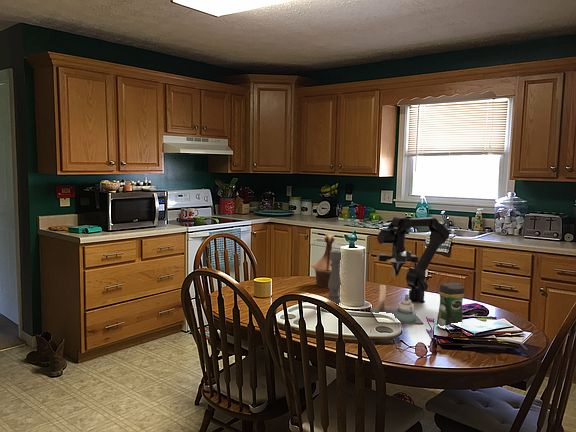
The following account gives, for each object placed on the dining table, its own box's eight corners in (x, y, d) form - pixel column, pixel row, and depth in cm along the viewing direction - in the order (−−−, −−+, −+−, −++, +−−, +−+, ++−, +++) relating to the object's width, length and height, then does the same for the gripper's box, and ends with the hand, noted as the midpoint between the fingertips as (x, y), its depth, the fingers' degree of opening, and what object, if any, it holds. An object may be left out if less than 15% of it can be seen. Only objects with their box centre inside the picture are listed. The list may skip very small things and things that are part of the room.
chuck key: (413, 312, 211) (414, 286, 210) (413, 316, 204) (415, 290, 203) (378, 308, 214) (380, 283, 213) (377, 312, 208) (379, 287, 207)
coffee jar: (452, 324, 206) (456, 280, 204) (465, 330, 199) (468, 285, 197) (433, 325, 203) (436, 281, 201) (444, 332, 196) (448, 286, 194)
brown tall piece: (343, 290, 254) (346, 237, 251) (310, 289, 254) (313, 235, 251) (340, 282, 271) (343, 232, 268) (309, 281, 271) (312, 231, 269)
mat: (410, 310, 223) (411, 309, 223) (423, 324, 204) (423, 322, 204) (369, 309, 223) (369, 307, 223) (377, 322, 204) (377, 321, 204)
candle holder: (331, 307, 224) (334, 252, 221) (324, 303, 229) (327, 250, 226) (343, 305, 227) (345, 252, 224) (335, 302, 232) (338, 249, 229)
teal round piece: (412, 317, 213) (413, 309, 213) (418, 324, 204) (419, 315, 204) (391, 316, 213) (392, 308, 213) (396, 323, 204) (397, 314, 204)
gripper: (382, 245, 224) (380, 279, 226) (423, 247, 225) (420, 280, 226) (377, 241, 235) (375, 273, 237) (416, 243, 236) (413, 275, 237)
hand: (396, 275), depth 234 cm, fingers closed
